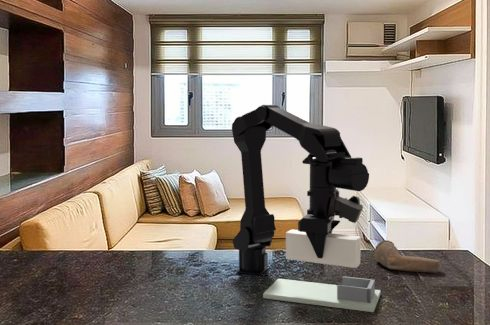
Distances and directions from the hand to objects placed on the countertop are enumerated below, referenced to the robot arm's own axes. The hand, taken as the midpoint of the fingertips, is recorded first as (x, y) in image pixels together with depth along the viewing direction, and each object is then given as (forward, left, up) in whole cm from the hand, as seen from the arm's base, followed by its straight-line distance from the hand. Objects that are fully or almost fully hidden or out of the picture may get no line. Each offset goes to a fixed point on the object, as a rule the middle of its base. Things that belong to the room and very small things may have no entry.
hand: (322, 255), depth 118 cm
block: (0, 0, -1) cm, 1 cm away
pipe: (+16, +28, -10) cm, 34 cm away
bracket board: (0, 0, -9) cm, 9 cm away
